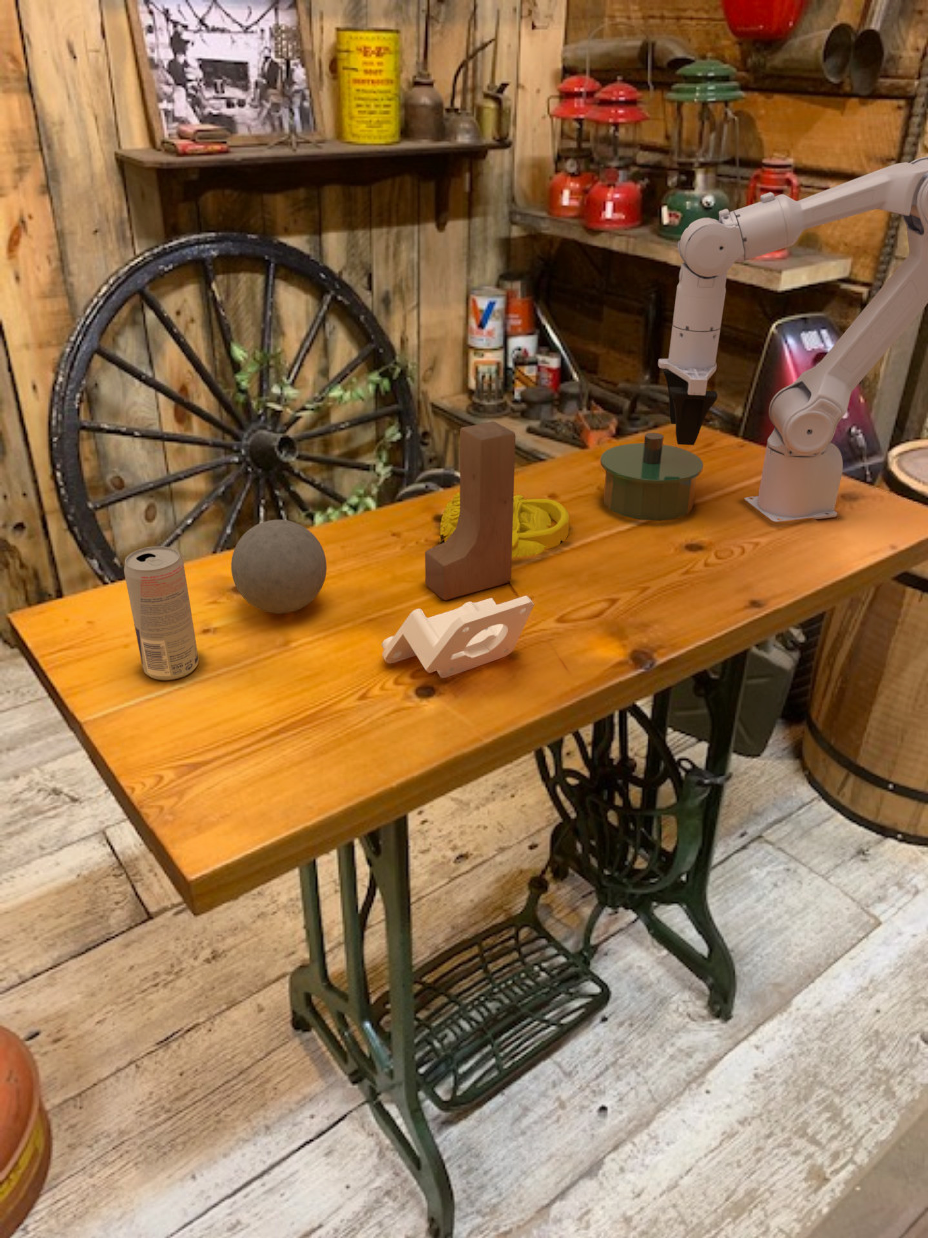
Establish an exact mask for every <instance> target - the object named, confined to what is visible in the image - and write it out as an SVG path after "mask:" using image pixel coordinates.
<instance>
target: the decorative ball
mask: <svg viewBox="0 0 928 1238" xmlns="http://www.w3.org/2000/svg"><path fill="white" fill-rule="evenodd" d="M230 570H231V577H232V581H233V584H234V585H235V587H236V590H237V591H238V593H239V594H240V596H241V597H242V598H243V599H244V600H245V601H246V602H247V603H248V604H250V605H251V606H253V607H254V608H256V610H260V611H262V612H265V613H268V614H278V615H282V614H283V615H284V614H289V613H293V612H297V611H299V610H301V609H303V608H305V607H307V606H308V605H309V604H310V603H312V602H313V600H314V599H315V598H316V597H317V596H318V595H319V593H320V592H321V590H322V588H323V586H324V584H325V581H326V578H327V558H326V554H325V551H324V548H323V546H322V544H321V543H320V541H319V539H318V538H317V537H316V536H315V535H314V533H313V532H311V531H310V530H309V529H307V528H306V527H305V526H304V525H301V524H299V523H297V522H294V521H291V520H286V519H271V520H270V519H269V520H265V521H263V522H259V523H258V524H255V525H254V526H253V527H251V528H249V529H248V530H247V531H245V533H244V534H242V536H241V537H240V538H239V540H238V541H237V543H236V545H235V547H234V550H233V552H232V556H231V562H230Z"/></svg>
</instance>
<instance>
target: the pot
mask: <svg viewBox="0 0 928 1238" xmlns="http://www.w3.org/2000/svg"><path fill="white" fill-rule="evenodd" d="M604 478H605V479H604V489H603V491H604V492H603V505H605V506H606V507H607V508H608V509H609V510H610V511H611V512H614V513H615V514H618V515H620V516H622V517H626V518H630V519H635V520H641V521H654V522H657V521H658V522H660V521H668V520H669V521H670V520H675V519H678V518H681V517H683V516H687V515H688V514H689V513H690V511H692V509H693V507H694V499H695V493H696V492H695V491H696V485H697V484H696V483H697V477H695V478H693V479H691V480H688V481H684V482H678V483H669V484H651V483H641V482H635V481H630V480H626V479H623V478H620V477H617V476H615V475H613V474H611V473H609V472H607V471H606V470H605V477H604Z"/></svg>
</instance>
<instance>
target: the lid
mask: <svg viewBox="0 0 928 1238" xmlns="http://www.w3.org/2000/svg"><path fill="white" fill-rule="evenodd" d="M664 438H665V436H664V435H663V434H662V433H658V432H648V433H645V434H644V440H643V442H637V443H636V442H635V443H626V444H621V445H616V446H613V447H610V448H609V449H607V450H605V451H604V452H602V454H601V456H600V462H599V463H600V466H601V467H602V468H603V470H605V472H606V471H607V472H609V473H611V474H613V475H615V476H617V477H620V478H623V479H626V480H630V481H635V482H641V483H651V484H669V483H678V482H684V481H688V480H691V479H693V478H695V477H696V478H698V477H699V476H700V475H701V474H702V472H703V470H704V462H703V460H702V459H701V458H700V457H699V456H698V455H696V454H695V453H693V452H691V451H689V450H686V449H683V448H681V447H677V446H672V445H669V444H668V445H667V444H664Z"/></svg>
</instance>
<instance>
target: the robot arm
mask: <svg viewBox="0 0 928 1238" xmlns="http://www.w3.org/2000/svg"><path fill="white" fill-rule="evenodd" d="M875 210H880V211H884V212H888V213H893V214H898V215H900V216H901V217H902V219H903V222H904V223H905V225H906V226H905V227H906V234H907V244H908V255H907V256H906V258H904V260H903V261H902V263H900V265H898V267H897V269H896V270H895V271H894V272H892V275H890V277H889V278H888V279H887V280H886V281H885V283H883V285H882V286H881V288H880V289H879V290H878V291H877V293H876V294H875V295H874V296H873V297H872V299H871V300H870V301H869V302H868V304H867V305H866V306H865V307H864V308H863V310H861V312H859V315H858V316H857V317H856V318H855V319H854V321H852V322H851V324H850V325H849V327H848V328H847V329H846V330H845V332H844V333H843V334H842V335H841V336H840V338H839V339H838V340H837V341H836V342H835V344H834V345H833V346H832V347H831V348H830V349H829V351H828V352H827V353H826V355H824V356H823V358H822V359H821V360H820V362H819V363H818V364H817V365H815V366H814V367H811V368H809V369H807V370H805V371H803V372H802V373H801V374H800V375H799V376H798V377H797V379H796V380H794V382H793V383H790V384H789V385H786V386H785V387H783V388H781V389H780V390H779V391H778V392H777V393H775V394H774V396H773V397H772V399H771V401H770V403H769V405H768V406H769V407H768V417H769V420H770V422H771V424H772V425H773V426H774V428H773V431H772V432H771V433H770V435H769V437H767V442H766V447H765V453H764V458H763V459H764V460H763V466H762V471H761V477H760V482H759V488H758V495H755V496H746V497H744V498H743V500H745V502H747V503H749V504H750V505H751V506H752V507H754V508H755V509H756V510H757V511H759V512H760V513H762V514H763V515H764V516H765V517H766V518H768V519H769V520H771V521H772V522H775V523H778V522H779V523H780V522H787V521H796V520H803V519H811V518H813V519H814V520H823V519H829V518H837V516H838V512H837V511H835V509H836V504H837V503H836V502H837V499H838V495H839V491H840V485H841V481H842V475H843V469H844V464H843V457H842V453H841V450H840V449H839V448H838V446H836V444H834V443H832V440H833V439H834V436H835V433H836V430H837V426H838V424H839V422H840V421H841V420H842V418H843V417H844V416H845V415H846V414H847V411H848V407H849V403H850V399H851V395H852V393H853V391H854V390H855V389H856V387H857V386H858V385H859V384H860V382H862V380H864V378H865V377H866V376H867V374H868V373H869V372H870V371H871V370H872V369H873V367H874V366H875V365H876V364H877V363H878V362H879V361H880V360H881V358H882V357H883V356H884V355H885V354H886V352H887V351H888V350H889V349H890V348H891V347H892V346H893V344H894V343H895V342H896V341H897V340H898V339H899V337H900V336H901V335H902V333H904V332H905V330H906V329H907V328H908V327H909V326H910V325H911V323H912V322H913V321H914V320H915V318H917V316H918V315H919V314H920V313H921V311H922V310H923V309H925V307H926V305H928V156H922V157H919V158H916V159H914V160H912V161H911V162H906V161H905V162H900V163H898V162H897V163H894V164H891V165H888V166H886V167H883V168H880V169H877V170H875V171H872V172H870V173H867V174H864V175H861V176H859V177H856V178H854V179H852V180H849V181H846V182H843V183H840V184H839V185H835V186H833V187H829V188H828V189H826V190H823V191H820V192H817V193H815V194H811V195H809V196H807V197H805V198H802V199H799V200H795V199H793V198H791V197H790V196H788V195H786V194H783V193H782V194H779V195H776V196H775V194H774V193H773V192H771V191H769V192H767V193H763V194H761V195H760V201H758V202H755V203H753V204H749V205H746V206H744V207H741V208H738V209H735V210H732V211H729V209H728V208H724V209H722V210H719V211H718V216H719V217H718V220H717V219H716V218H711V217H701V218H698V219H696V220H694V221H692V222H691V223H690V224H689V225H688V226H687V227H685V229H684V231H683V232H682V234H681V236H680V240H678V241H677V251H678V254H679V256H680V258H681V260H682V262H681V264H680V270H679V273H678V280H679V282H678V284H677V286H676V293H675V300H674V301H675V302H674V310H673V318H672V326H671V335H670V343H669V352H668V358H659V359H658V361H657V366H658V367H659V369H662V372H663V375H664V377H665V381H666V385H667V391H668V392H667V393H668V407H669V420H670V424H671V425H675V438H676V443H677V445H678V446H679V445H683V446H685V445H686V446H694V445H695V444H696V441H697V440H698V437H699V434H700V431H701V428H702V426H703V423H704V420H705V418H706V417H707V415H708V413H709V411H710V410H711V408H712V406H713V405H714V404H715V403H716V401H717V398H718V397H719V395H718V392H717V390H707V387H708V381H709V379H710V378H711V377H712V376H713V375H714V374H715V372H716V371H717V368H718V367H717V365H718V364H717V355H718V348H719V342H720V341H719V340H720V335H721V334H720V333H721V326H722V321H723V320H722V319H723V312H724V307H725V299H726V293H727V288H726V283H727V277H728V276H727V275H728V272H729V270H730V269H731V268H732V267H733V265H734V264H735V262H736V263H740V264H741V263H744V262H746V261H749V260H752V259H756V258H759V257H761V256H764V255H767V254H770V253H773V252H776V251H779V250H782V249H786V248H788V247H792V246H794V245H795V244H796V243H797V241H798V240H799V238H800V236H801V235H802V233H803V232H804V231H805V230H808V229H812V228H815V227H819V226H822V225H825V224H828V223H832V222H836V221H840V220H843V219H846V218H849V217H854V216H856V215H860V214H864V213H866V212H871V211H875Z"/></svg>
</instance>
